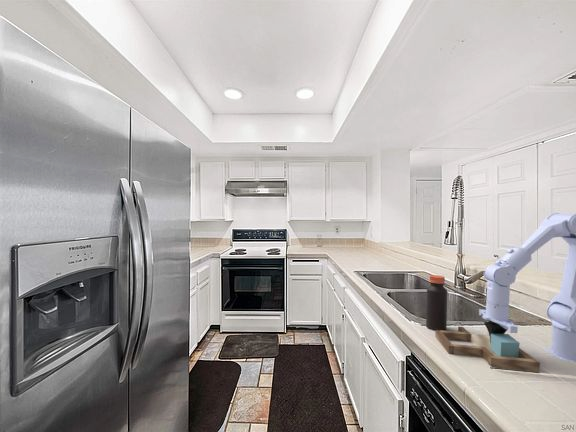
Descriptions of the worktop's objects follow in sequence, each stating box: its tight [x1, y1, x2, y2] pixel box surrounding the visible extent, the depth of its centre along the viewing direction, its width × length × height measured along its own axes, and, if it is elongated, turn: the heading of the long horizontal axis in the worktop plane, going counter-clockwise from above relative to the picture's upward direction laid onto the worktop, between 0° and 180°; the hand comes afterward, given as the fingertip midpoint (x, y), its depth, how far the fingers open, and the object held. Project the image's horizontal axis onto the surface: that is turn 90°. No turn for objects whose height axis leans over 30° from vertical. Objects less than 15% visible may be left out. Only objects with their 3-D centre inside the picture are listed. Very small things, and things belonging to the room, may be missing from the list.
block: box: [490, 333, 520, 358], centre depth 86 cm, size 5×5×5 cm
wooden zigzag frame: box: [434, 326, 541, 374], centre depth 90 cm, size 21×22×3 cm
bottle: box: [425, 274, 448, 332], centre depth 106 cm, size 7×7×20 cm
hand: (495, 346), depth 89 cm, fingers closed, pressing on block
